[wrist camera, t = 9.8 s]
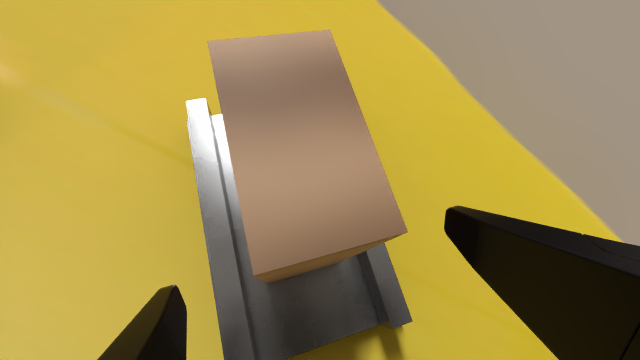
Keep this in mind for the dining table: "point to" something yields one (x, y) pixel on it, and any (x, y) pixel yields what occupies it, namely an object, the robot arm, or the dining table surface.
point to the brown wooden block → (300, 154)
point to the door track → (287, 294)
